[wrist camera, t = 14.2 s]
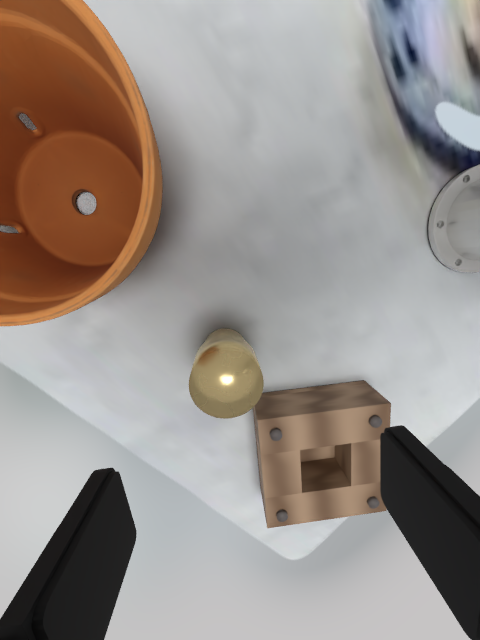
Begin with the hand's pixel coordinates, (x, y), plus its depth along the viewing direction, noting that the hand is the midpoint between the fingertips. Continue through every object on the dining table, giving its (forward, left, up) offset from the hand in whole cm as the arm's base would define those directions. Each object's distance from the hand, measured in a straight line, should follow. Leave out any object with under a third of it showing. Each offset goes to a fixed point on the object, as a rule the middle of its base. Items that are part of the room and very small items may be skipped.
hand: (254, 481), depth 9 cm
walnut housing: (-10, +19, -25) cm, 33 cm away
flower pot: (+14, -15, -25) cm, 33 cm away
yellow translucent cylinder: (+1, +4, -25) cm, 25 cm away
